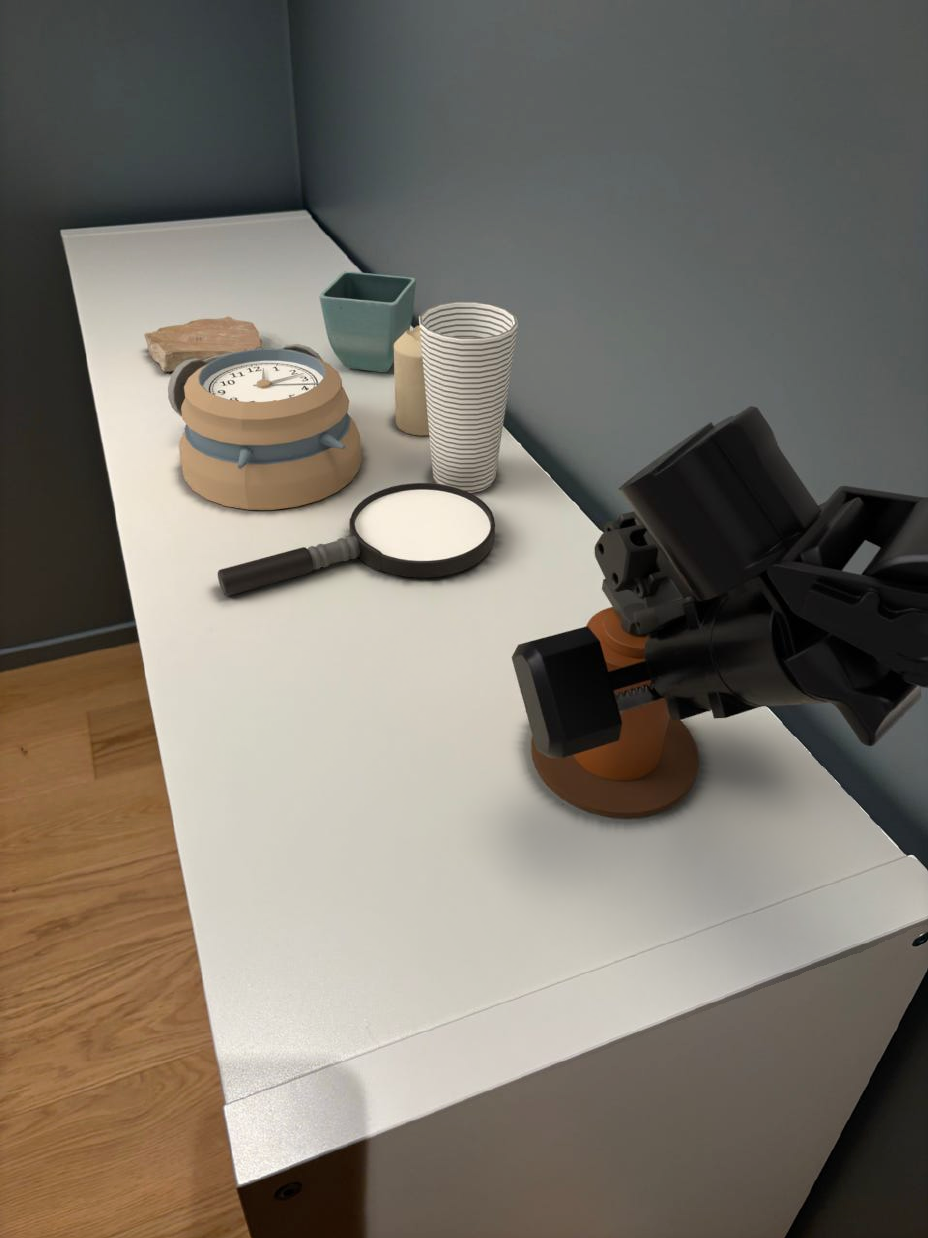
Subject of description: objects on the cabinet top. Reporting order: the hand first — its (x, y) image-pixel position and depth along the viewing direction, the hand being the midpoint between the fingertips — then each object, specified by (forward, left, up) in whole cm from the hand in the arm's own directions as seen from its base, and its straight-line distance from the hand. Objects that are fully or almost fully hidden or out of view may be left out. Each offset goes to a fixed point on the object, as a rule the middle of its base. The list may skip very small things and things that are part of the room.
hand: (614, 669), depth 58 cm
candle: (+38, -27, -6) cm, 47 cm away
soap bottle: (-1, +1, -6) cm, 6 cm away
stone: (+67, -24, -6) cm, 71 cm away
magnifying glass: (+27, -6, -6) cm, 28 cm away
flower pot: (+52, -35, -6) cm, 63 cm away
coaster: (-1, +1, -6) cm, 6 cm away
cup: (+28, -21, -6) cm, 36 cm away
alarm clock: (+46, -13, -6) cm, 49 cm away
